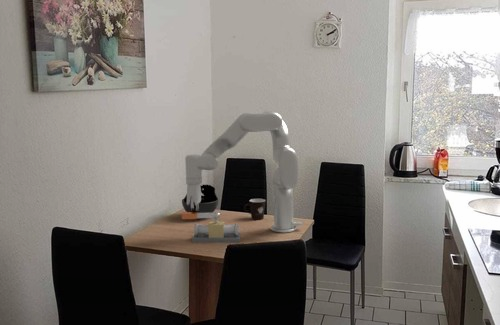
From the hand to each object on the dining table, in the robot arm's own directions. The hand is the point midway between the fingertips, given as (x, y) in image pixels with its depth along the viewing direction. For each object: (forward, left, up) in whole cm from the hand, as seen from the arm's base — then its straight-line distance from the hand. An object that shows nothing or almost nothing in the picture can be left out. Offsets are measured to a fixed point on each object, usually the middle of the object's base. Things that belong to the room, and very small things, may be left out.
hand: (195, 218), depth 257 cm
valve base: (-11, +4, -9) cm, 14 cm away
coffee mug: (-28, -34, -9) cm, 45 cm away
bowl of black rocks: (+2, -37, -9) cm, 38 cm away
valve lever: (-3, +4, +1) cm, 5 cm away
